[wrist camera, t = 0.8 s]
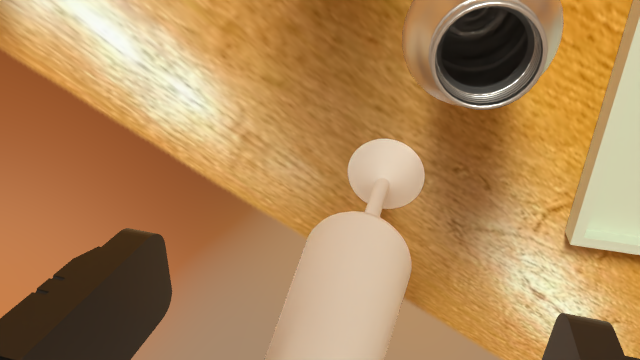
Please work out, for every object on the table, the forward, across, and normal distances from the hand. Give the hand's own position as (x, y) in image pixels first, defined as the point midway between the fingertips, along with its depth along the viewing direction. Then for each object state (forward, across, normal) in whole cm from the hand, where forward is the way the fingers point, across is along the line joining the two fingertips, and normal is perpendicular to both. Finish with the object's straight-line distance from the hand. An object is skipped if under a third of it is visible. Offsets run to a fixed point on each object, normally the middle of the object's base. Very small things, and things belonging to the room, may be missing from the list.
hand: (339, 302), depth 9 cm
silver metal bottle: (+29, -3, -3) cm, 30 cm away
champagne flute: (+29, +2, +11) cm, 31 cm away
